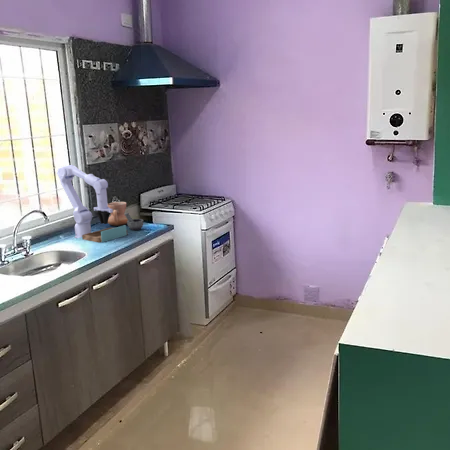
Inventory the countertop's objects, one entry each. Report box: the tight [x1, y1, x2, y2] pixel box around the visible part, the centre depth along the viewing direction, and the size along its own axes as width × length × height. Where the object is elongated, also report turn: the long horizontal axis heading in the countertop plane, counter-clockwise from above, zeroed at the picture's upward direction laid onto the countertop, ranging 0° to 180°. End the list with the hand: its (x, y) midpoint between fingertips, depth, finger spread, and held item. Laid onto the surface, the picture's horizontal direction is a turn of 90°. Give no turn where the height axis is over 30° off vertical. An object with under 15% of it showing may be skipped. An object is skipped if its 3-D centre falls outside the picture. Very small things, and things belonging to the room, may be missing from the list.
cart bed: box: [81, 227, 129, 244], centre depth 310 cm, size 15×21×4 cm
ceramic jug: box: [107, 201, 128, 227], centre depth 345 cm, size 18×14×14 cm
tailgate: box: [101, 224, 128, 243], centre depth 304 cm, size 1×18×6 cm, turn 142°
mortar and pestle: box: [124, 212, 144, 231], centre depth 325 cm, size 11×9×12 cm
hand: (104, 223), depth 308 cm, fingers open, 2 cm apart
